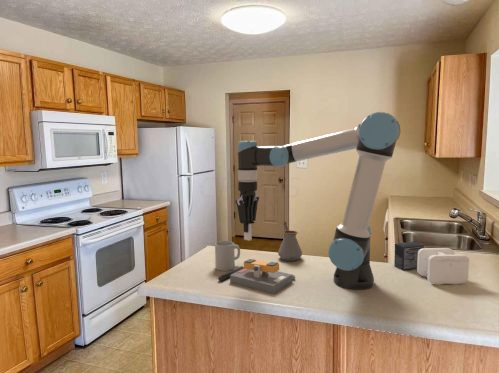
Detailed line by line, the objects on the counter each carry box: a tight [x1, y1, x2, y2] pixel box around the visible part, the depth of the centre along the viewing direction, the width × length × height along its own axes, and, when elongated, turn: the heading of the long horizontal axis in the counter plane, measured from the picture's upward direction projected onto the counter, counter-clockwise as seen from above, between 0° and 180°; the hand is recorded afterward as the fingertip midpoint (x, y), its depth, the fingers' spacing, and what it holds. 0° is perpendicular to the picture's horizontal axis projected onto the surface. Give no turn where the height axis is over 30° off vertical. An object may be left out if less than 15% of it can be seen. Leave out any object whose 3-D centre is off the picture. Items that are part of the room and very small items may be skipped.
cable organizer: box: [416, 247, 470, 286], centre depth 142 cm, size 15×11×12 cm
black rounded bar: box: [217, 265, 244, 282], centre depth 150 cm, size 2×16×2 cm, turn 145°
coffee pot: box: [277, 220, 303, 262], centre depth 176 cm, size 21×12×15 cm, turn 4°
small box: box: [393, 241, 425, 272], centre depth 158 cm, size 11×6×10 cm, turn 106°
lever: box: [243, 258, 280, 273], centre depth 142 cm, size 14×4×3 cm, turn 55°
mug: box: [214, 240, 241, 272], centre depth 161 cm, size 12×8×11 cm
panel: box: [229, 260, 293, 295], centre depth 142 cm, size 20×14×8 cm
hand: (247, 239), depth 145 cm, fingers closed
